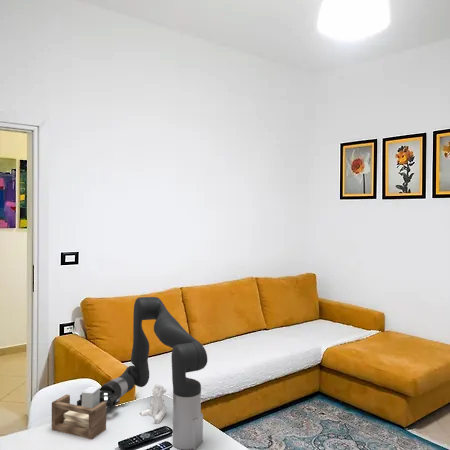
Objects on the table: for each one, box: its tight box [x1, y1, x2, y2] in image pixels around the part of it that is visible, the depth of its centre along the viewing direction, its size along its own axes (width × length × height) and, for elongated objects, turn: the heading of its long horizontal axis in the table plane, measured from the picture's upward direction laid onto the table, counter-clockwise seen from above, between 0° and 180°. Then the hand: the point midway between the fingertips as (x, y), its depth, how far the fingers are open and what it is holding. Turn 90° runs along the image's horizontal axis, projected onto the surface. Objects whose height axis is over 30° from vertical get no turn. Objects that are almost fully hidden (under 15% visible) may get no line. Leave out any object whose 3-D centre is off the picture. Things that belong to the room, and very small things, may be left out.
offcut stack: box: [63, 411, 89, 430], centre depth 160 cm, size 12×5×5 cm, turn 69°
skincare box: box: [81, 386, 101, 408], centre depth 166 cm, size 6×4×12 cm
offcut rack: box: [51, 394, 107, 440], centre depth 159 cm, size 17×8×10 cm, turn 69°
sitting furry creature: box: [139, 384, 167, 425], centre depth 171 cm, size 10×9×12 cm
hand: (87, 406), depth 165 cm, fingers open, 8 cm apart
